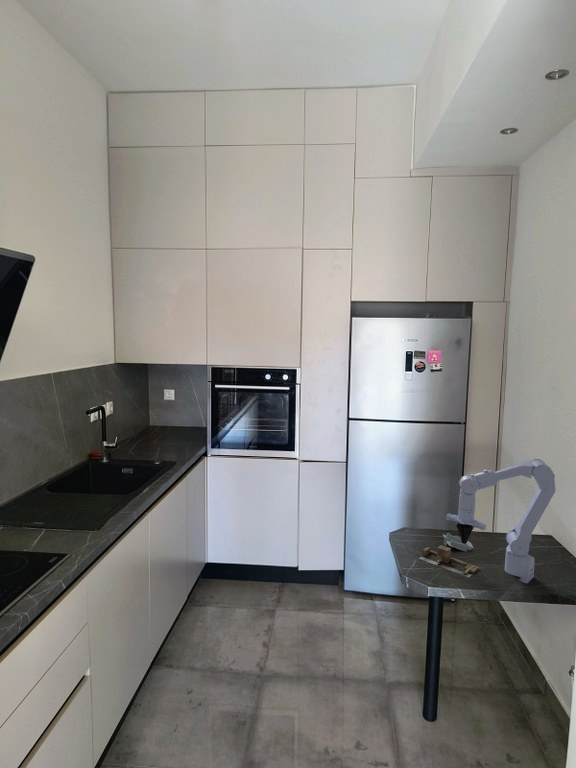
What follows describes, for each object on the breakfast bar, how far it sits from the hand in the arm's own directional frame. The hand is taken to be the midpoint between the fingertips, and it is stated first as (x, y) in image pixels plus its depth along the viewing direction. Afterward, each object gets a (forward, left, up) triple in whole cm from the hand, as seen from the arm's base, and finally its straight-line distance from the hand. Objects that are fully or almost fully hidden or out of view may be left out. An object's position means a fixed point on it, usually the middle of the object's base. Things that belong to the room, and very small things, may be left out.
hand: (464, 542), depth 183 cm
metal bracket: (+9, -16, -11) cm, 21 cm away
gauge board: (+4, +4, -10) cm, 11 cm away
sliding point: (+7, +4, -8) cm, 12 cm away
